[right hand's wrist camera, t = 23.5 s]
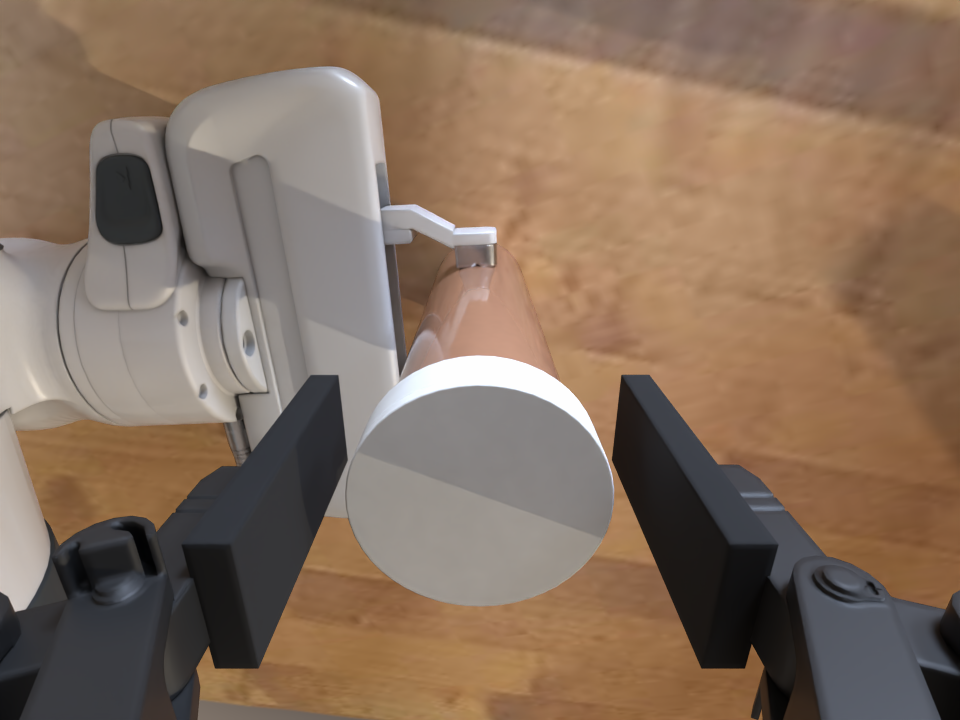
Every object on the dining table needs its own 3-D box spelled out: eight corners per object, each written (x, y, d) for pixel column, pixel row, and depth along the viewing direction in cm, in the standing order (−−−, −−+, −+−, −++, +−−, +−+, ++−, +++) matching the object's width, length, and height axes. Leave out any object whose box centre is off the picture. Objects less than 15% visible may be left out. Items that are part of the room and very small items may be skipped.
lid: (462, 591, 14) (460, 643, 12) (311, 448, 12) (287, 488, 11) (643, 480, 12) (665, 524, 11) (500, 303, 11) (505, 327, 9)
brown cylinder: (458, 338, 31) (428, 591, 13) (421, 262, 29) (330, 433, 11) (535, 305, 30) (617, 527, 12) (503, 225, 28) (542, 348, 10)
